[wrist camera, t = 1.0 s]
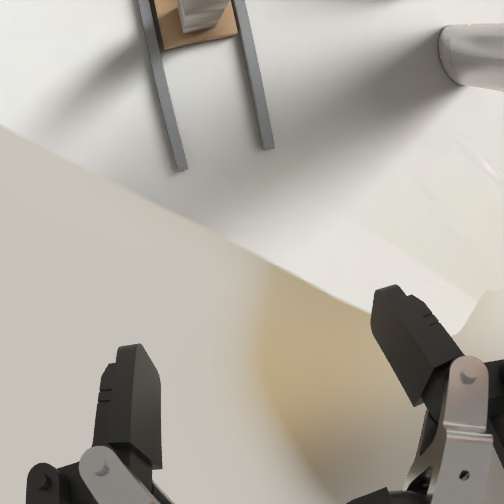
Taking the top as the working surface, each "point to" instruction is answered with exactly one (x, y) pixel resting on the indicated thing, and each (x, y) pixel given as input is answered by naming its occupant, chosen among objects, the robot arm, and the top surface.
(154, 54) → the track
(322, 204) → the top surface
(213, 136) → the top surface
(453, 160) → the top surface
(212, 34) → the wooden board with post
